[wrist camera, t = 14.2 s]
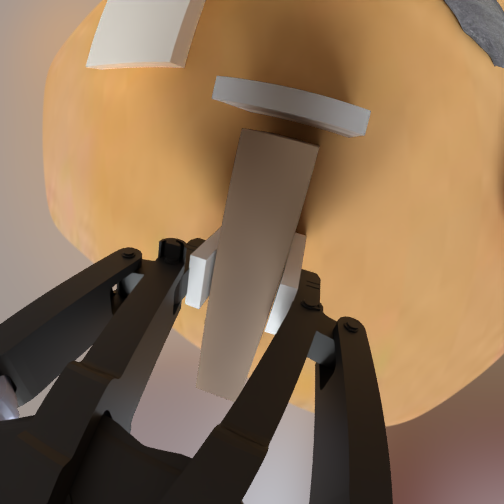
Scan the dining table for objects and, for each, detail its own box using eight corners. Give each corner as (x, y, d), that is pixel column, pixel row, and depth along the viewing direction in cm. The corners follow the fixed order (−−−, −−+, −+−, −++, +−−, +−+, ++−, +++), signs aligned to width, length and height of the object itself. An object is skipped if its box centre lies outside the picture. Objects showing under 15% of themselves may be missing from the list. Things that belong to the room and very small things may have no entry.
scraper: (352, 121, 14) (370, 110, 8) (274, 352, 21) (258, 409, 16) (253, 96, 14) (216, 75, 9) (206, 328, 22) (176, 379, 17)
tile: (187, 69, 15) (220, -29, 11) (169, 61, 13) (209, -44, 9) (105, 69, 16) (135, -18, 12) (85, 67, 14) (119, -26, 10)
